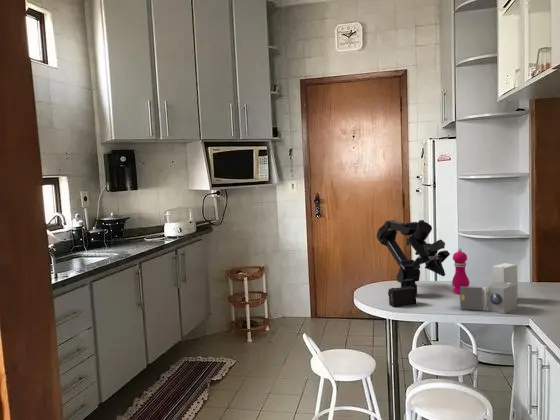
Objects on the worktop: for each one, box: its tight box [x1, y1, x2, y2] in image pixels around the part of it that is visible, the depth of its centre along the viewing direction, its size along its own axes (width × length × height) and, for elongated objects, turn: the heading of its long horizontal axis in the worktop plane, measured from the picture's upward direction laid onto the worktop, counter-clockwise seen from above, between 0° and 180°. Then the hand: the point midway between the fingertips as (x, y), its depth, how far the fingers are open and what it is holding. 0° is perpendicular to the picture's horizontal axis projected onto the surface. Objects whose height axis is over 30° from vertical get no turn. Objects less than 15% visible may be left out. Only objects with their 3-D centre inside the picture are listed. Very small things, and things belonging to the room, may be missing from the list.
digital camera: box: [387, 286, 417, 308], centre depth 192 cm, size 10×5×7 cm, turn 103°
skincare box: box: [491, 262, 519, 300], centre depth 189 cm, size 8×6×15 cm
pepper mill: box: [451, 248, 470, 295], centre depth 205 cm, size 7×7×20 cm
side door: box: [459, 286, 488, 311], centre depth 178 cm, size 10×2×9 cm, turn 66°
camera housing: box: [487, 282, 518, 315], centre depth 177 cm, size 6×11×10 cm, turn 126°
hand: (444, 275), depth 187 cm, fingers closed
